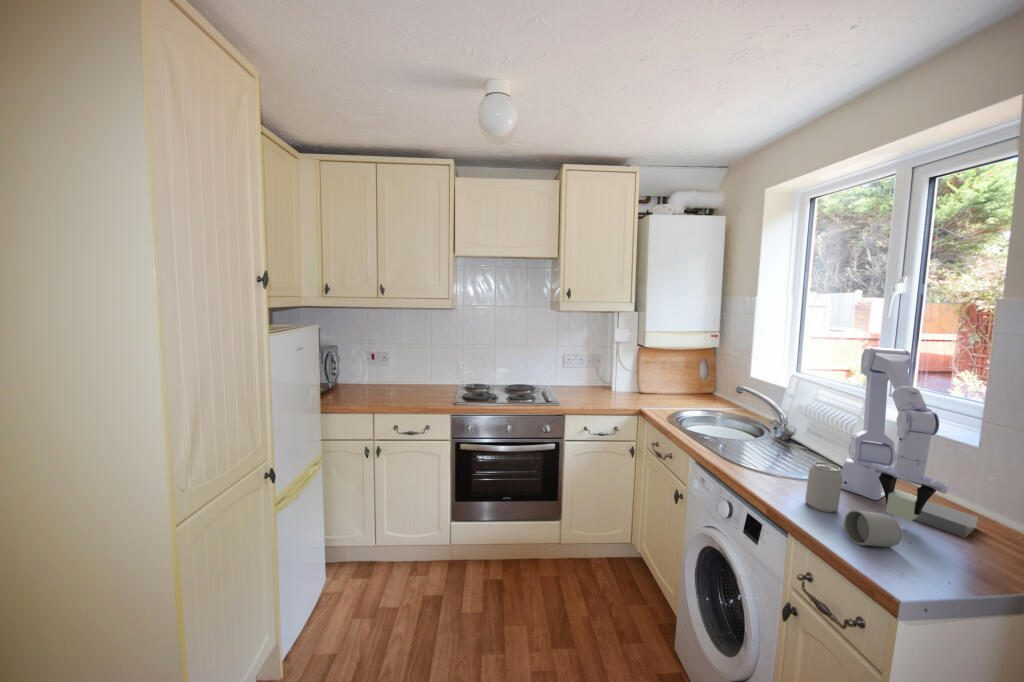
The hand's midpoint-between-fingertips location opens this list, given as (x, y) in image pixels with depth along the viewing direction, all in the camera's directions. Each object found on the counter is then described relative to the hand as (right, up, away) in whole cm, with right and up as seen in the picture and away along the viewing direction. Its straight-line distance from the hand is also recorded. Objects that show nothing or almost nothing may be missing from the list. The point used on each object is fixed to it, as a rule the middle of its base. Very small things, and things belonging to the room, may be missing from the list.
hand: (902, 508), depth 110 cm
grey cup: (-15, -5, -7) cm, 17 cm away
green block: (0, -2, 0) cm, 2 cm away
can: (-14, -3, +9) cm, 17 cm away
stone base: (+14, -5, +4) cm, 16 cm away
